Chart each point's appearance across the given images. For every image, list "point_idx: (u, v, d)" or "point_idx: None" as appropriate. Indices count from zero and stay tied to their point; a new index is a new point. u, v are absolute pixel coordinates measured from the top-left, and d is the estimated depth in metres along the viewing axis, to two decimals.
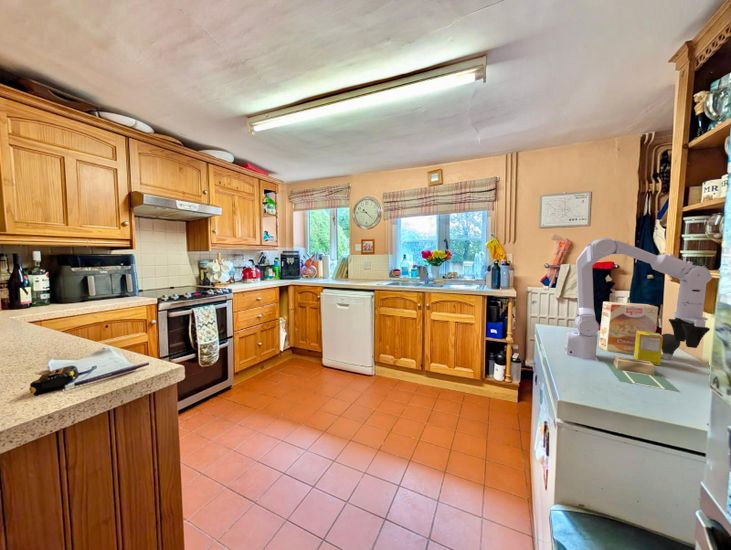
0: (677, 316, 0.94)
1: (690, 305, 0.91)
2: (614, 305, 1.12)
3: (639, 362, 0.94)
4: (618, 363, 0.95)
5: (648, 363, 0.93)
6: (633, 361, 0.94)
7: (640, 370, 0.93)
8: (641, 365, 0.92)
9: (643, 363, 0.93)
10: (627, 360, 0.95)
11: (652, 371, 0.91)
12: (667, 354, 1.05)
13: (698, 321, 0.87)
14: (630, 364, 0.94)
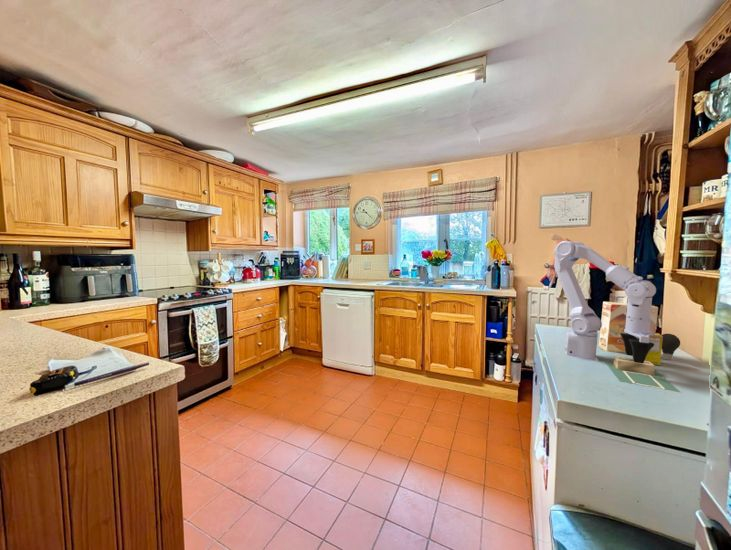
0: (625, 331, 0.95)
1: (637, 320, 0.92)
2: (614, 305, 1.12)
3: None
4: (618, 363, 0.95)
5: (648, 363, 0.93)
6: (633, 361, 0.94)
7: (640, 370, 0.93)
8: (641, 365, 0.92)
9: (643, 363, 0.93)
10: (627, 360, 0.95)
11: (652, 371, 0.91)
12: (667, 354, 1.05)
13: (642, 337, 0.88)
14: (630, 364, 0.94)
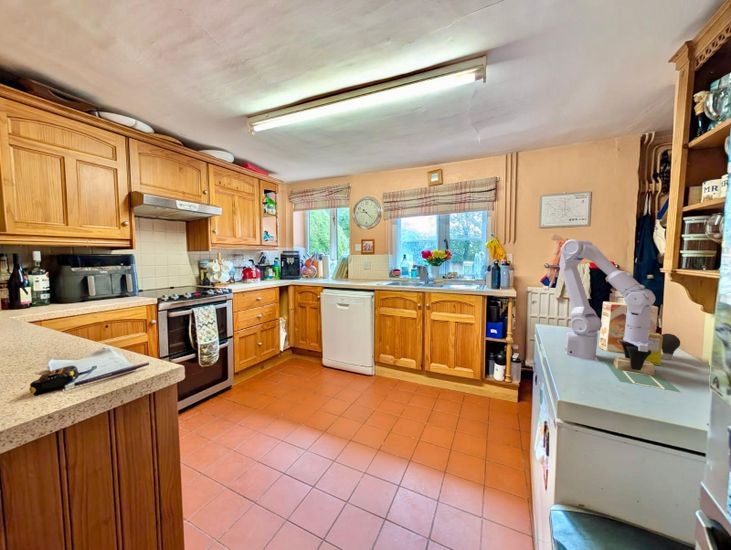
0: (625, 339, 0.95)
1: (636, 329, 0.92)
2: (614, 305, 1.12)
3: None
4: (618, 363, 0.95)
5: (648, 363, 0.93)
6: None
7: (640, 370, 0.93)
8: None
9: None
10: (627, 360, 0.95)
11: (652, 371, 0.91)
12: (667, 354, 1.05)
13: (641, 346, 0.88)
14: (630, 364, 0.94)
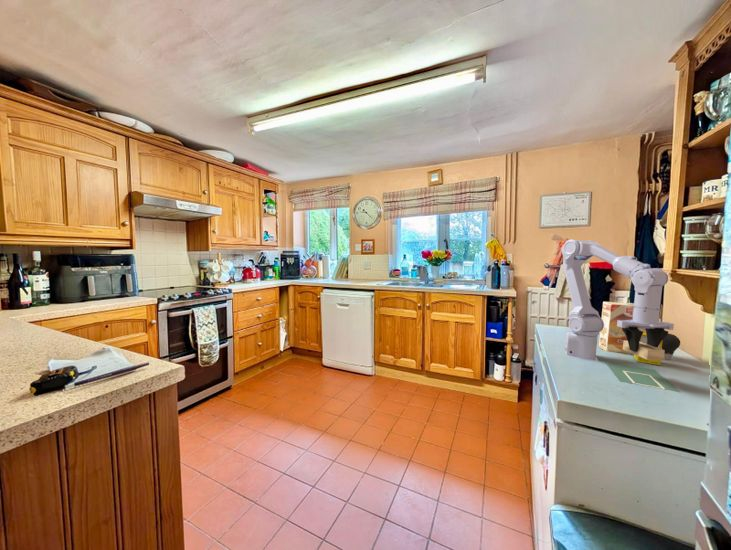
0: None
1: (634, 308, 0.89)
2: (614, 305, 1.12)
3: (642, 346, 0.88)
4: (623, 343, 0.94)
5: (652, 348, 0.85)
6: (639, 344, 0.89)
7: (637, 353, 0.88)
8: None
9: (644, 347, 0.87)
10: None
11: (646, 355, 0.85)
12: (667, 354, 1.05)
13: (618, 321, 0.90)
14: None
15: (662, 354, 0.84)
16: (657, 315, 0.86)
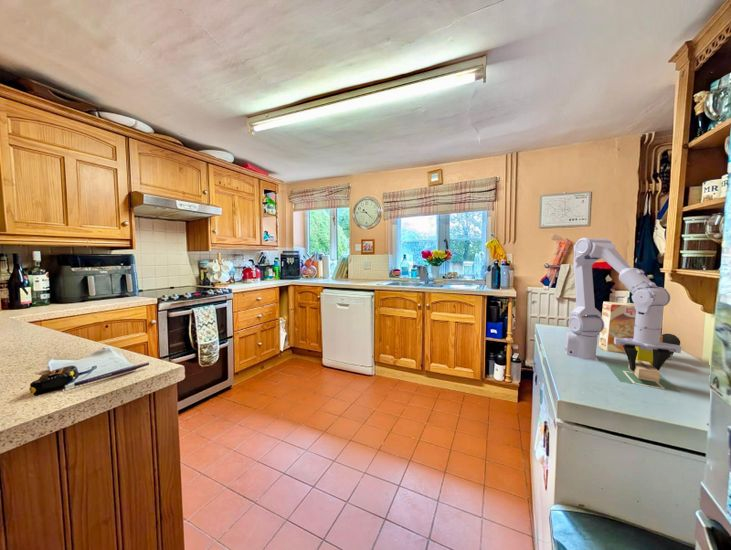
0: None
1: (634, 327, 0.89)
2: (614, 305, 1.12)
3: (640, 365, 0.87)
4: None
5: (646, 368, 0.84)
6: (639, 364, 0.88)
7: (634, 372, 0.87)
8: (635, 366, 0.87)
9: (640, 366, 0.86)
10: (638, 362, 0.89)
11: (638, 374, 0.85)
12: None
13: (614, 338, 0.91)
14: None
15: (657, 375, 0.83)
16: (655, 335, 0.84)
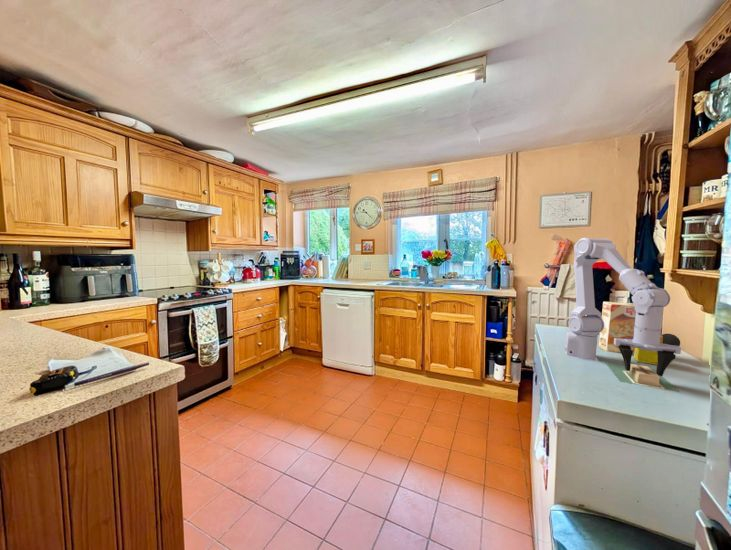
0: None
1: (634, 328, 0.89)
2: (614, 305, 1.12)
3: (640, 370, 0.87)
4: None
5: (646, 373, 0.84)
6: (639, 368, 0.88)
7: (634, 376, 0.88)
8: (634, 371, 0.87)
9: (639, 371, 0.86)
10: (637, 367, 0.89)
11: (637, 379, 0.85)
12: None
13: (614, 339, 0.91)
14: (631, 369, 0.90)
15: (657, 380, 0.83)
16: (655, 336, 0.84)
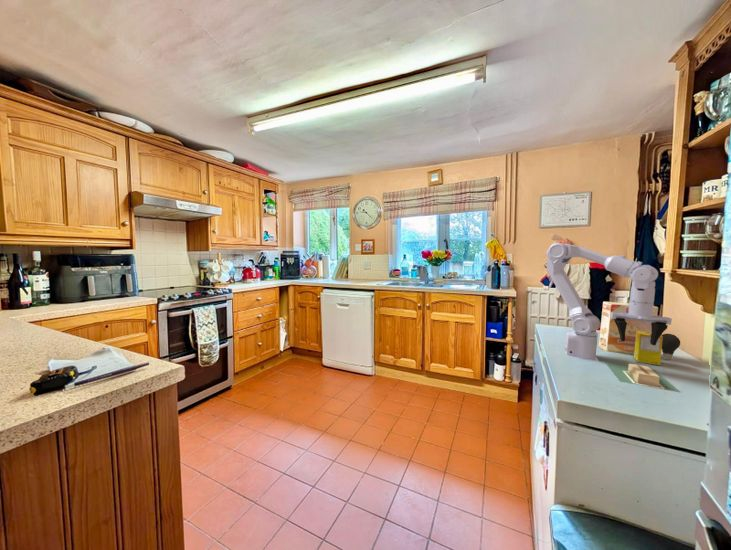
0: None
1: None
2: (614, 305, 1.12)
3: (640, 370, 0.87)
4: None
5: (646, 373, 0.84)
6: (639, 368, 0.88)
7: (634, 376, 0.88)
8: (634, 371, 0.87)
9: (639, 371, 0.86)
10: (637, 367, 0.89)
11: (637, 379, 0.85)
12: (667, 354, 1.05)
13: (611, 313, 0.99)
14: (631, 369, 0.90)
15: (657, 380, 0.83)
16: (648, 309, 0.92)
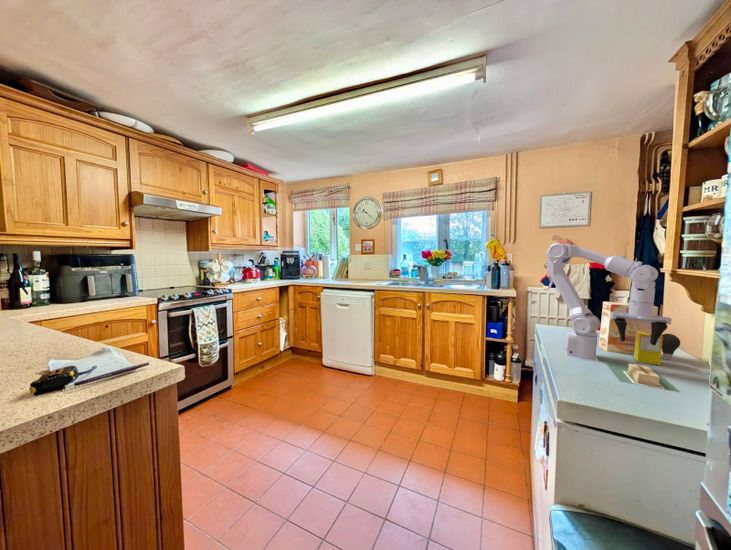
0: None
1: None
2: (614, 305, 1.12)
3: (640, 370, 0.87)
4: None
5: (646, 373, 0.84)
6: (639, 368, 0.88)
7: (634, 376, 0.88)
8: (634, 371, 0.87)
9: (639, 371, 0.86)
10: (637, 367, 0.89)
11: (637, 379, 0.85)
12: (667, 354, 1.05)
13: (611, 313, 0.99)
14: (631, 369, 0.90)
15: (657, 380, 0.83)
16: (648, 308, 0.92)
